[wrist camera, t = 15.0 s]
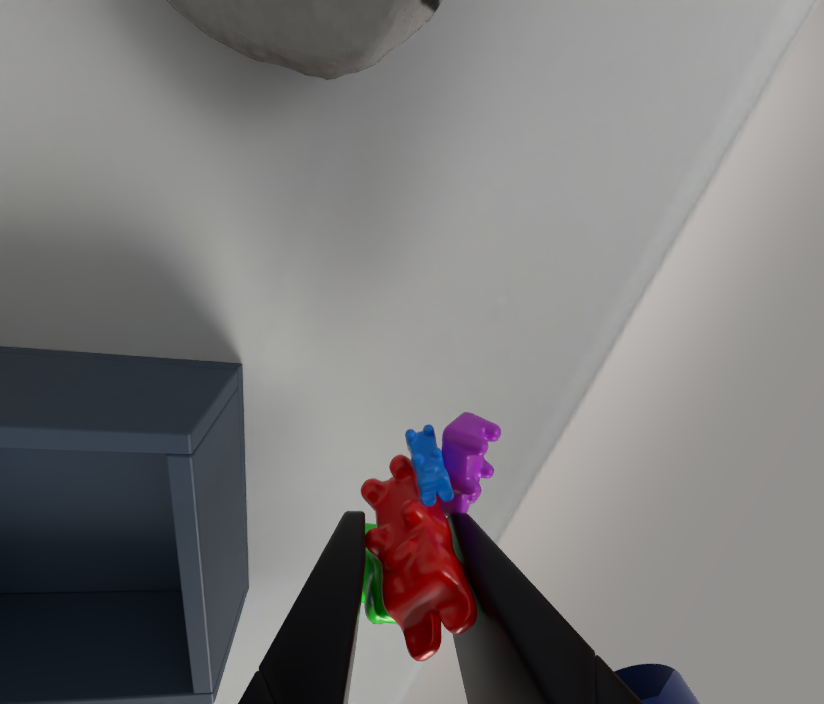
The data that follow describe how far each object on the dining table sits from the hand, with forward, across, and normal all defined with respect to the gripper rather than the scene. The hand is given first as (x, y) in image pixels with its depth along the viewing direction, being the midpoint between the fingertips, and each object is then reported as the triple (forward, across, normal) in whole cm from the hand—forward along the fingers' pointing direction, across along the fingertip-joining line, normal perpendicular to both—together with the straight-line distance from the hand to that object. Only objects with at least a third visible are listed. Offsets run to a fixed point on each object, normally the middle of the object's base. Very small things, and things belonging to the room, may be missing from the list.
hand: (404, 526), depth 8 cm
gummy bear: (+1, 0, 0) cm, 1 cm away
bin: (+6, +10, +4) cm, 12 cm away
